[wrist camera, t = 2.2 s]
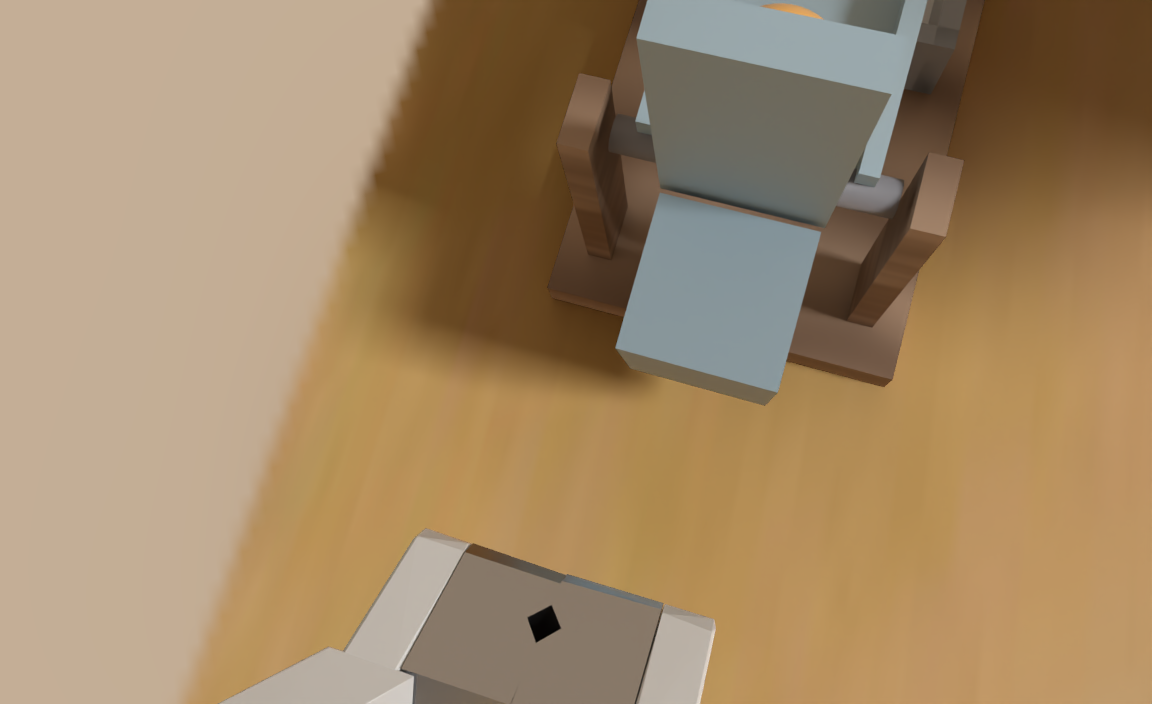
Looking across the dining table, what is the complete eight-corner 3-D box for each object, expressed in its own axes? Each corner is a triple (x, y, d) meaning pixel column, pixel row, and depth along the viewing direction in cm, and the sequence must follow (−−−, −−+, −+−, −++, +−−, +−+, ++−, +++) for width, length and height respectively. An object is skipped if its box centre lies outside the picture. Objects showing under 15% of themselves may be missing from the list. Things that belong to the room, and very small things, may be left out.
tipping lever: (817, 420, 34) (917, 378, 18) (580, 354, 35) (479, 262, 19) (947, -63, 35) (1143, -494, 19) (714, -107, 37) (721, -542, 21)
